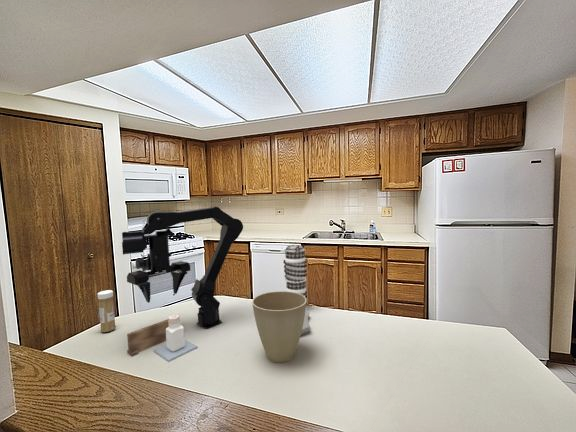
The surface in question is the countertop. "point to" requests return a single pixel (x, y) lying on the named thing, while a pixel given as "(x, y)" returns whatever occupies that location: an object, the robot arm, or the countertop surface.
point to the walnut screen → (146, 337)
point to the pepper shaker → (174, 333)
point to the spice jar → (106, 310)
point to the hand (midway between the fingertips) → (162, 297)
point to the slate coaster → (170, 355)
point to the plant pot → (279, 322)
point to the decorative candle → (295, 270)
